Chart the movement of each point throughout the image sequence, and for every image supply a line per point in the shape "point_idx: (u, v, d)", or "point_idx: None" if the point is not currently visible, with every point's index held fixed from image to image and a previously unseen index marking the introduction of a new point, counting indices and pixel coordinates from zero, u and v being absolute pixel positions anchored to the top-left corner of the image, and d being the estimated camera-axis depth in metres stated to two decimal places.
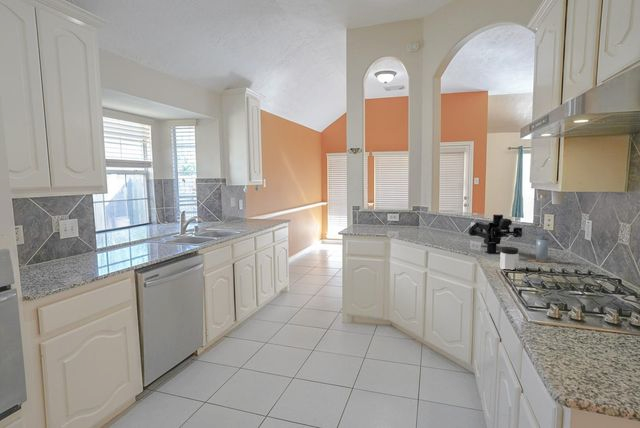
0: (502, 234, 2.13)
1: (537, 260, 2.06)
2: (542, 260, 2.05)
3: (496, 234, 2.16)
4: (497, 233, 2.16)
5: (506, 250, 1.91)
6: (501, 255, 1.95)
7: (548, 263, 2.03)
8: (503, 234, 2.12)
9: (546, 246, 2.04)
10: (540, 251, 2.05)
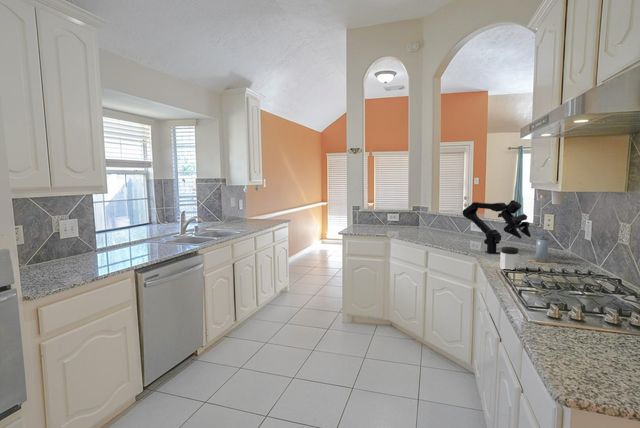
0: (517, 235, 2.14)
1: (537, 260, 2.06)
2: (542, 260, 2.05)
3: (510, 231, 2.16)
4: (511, 230, 2.16)
5: (506, 250, 1.91)
6: (501, 255, 1.95)
7: (548, 263, 2.03)
8: (518, 235, 2.14)
9: (546, 246, 2.04)
10: (540, 251, 2.05)
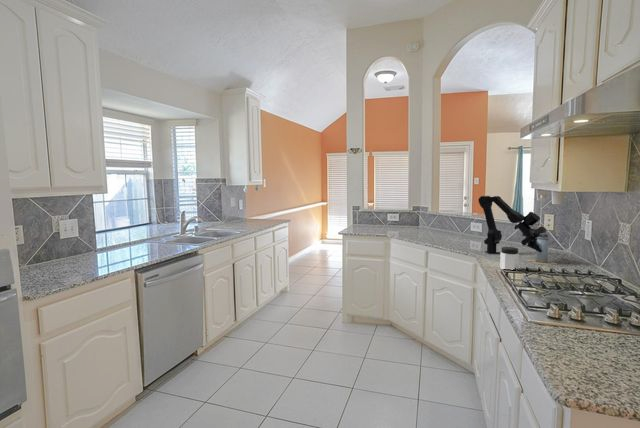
0: (536, 248, 2.05)
1: (537, 260, 2.06)
2: (542, 260, 2.05)
3: (530, 244, 2.07)
4: (531, 243, 2.07)
5: (506, 250, 1.91)
6: (501, 255, 1.95)
7: (548, 263, 2.03)
8: (538, 249, 2.05)
9: (546, 246, 2.04)
10: None
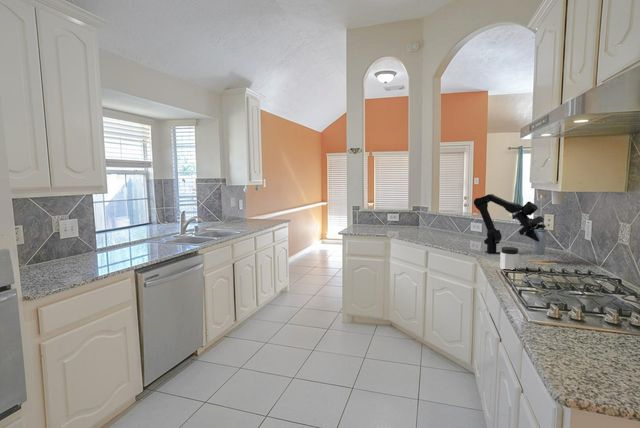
0: (534, 237, 2.06)
1: (534, 252, 2.08)
2: (539, 252, 2.06)
3: (527, 233, 2.08)
4: (529, 232, 2.08)
5: (506, 250, 1.91)
6: (501, 255, 1.95)
7: (548, 263, 2.03)
8: (535, 238, 2.06)
9: (544, 238, 2.05)
10: (538, 243, 2.06)
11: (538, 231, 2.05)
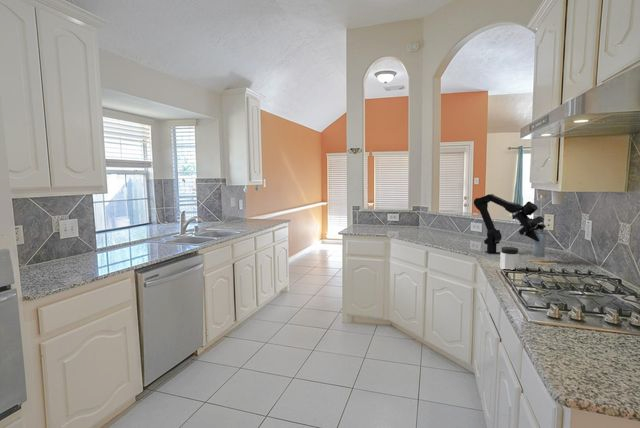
0: (534, 237, 2.06)
1: (534, 254, 2.08)
2: (539, 254, 2.06)
3: (527, 233, 2.08)
4: (529, 232, 2.08)
5: (506, 250, 1.91)
6: (501, 255, 1.95)
7: (548, 263, 2.03)
8: (535, 238, 2.06)
9: (543, 240, 2.05)
10: (537, 245, 2.06)
11: (538, 233, 2.05)
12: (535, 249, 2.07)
